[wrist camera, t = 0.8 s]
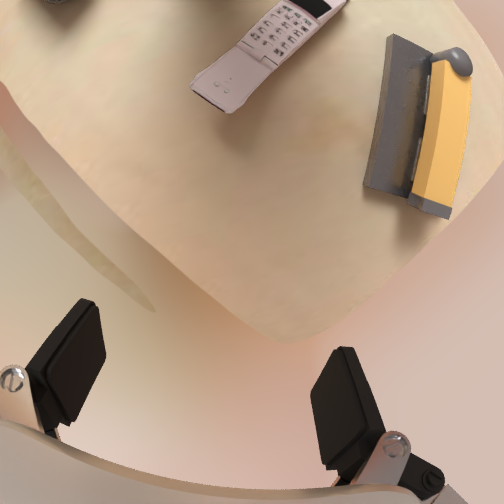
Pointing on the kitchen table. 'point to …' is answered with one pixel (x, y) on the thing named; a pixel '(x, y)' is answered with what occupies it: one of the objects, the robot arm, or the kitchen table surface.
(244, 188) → the kitchen table surface
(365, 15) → the kitchen table surface
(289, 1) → the mobile phone
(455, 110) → the bar
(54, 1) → the bluetooth speaker
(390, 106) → the plate
